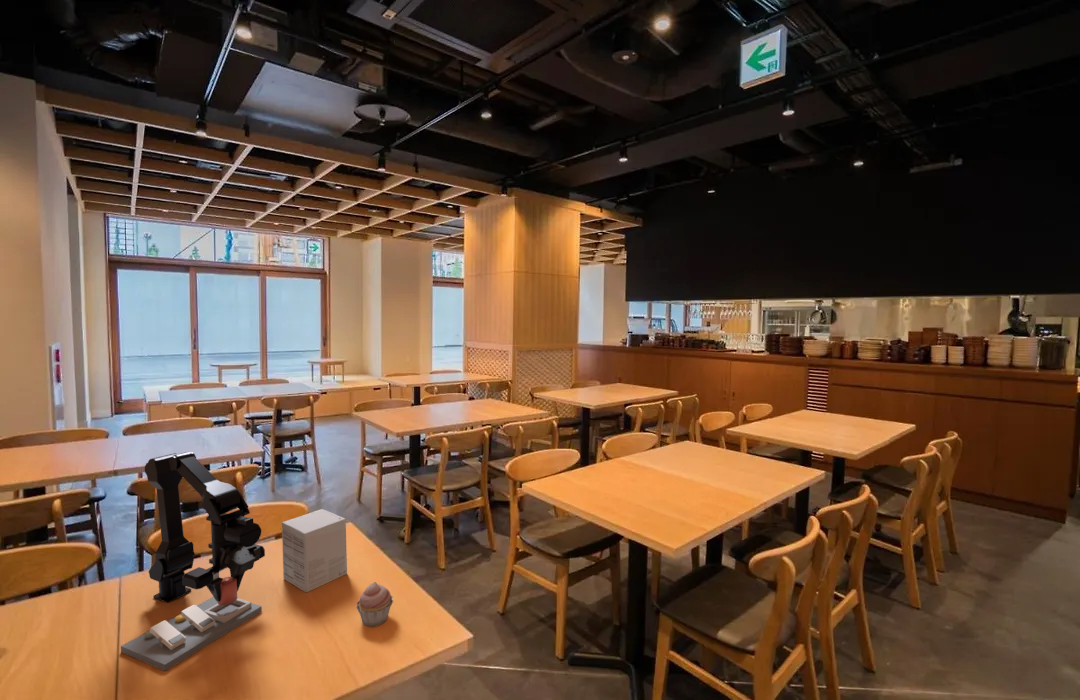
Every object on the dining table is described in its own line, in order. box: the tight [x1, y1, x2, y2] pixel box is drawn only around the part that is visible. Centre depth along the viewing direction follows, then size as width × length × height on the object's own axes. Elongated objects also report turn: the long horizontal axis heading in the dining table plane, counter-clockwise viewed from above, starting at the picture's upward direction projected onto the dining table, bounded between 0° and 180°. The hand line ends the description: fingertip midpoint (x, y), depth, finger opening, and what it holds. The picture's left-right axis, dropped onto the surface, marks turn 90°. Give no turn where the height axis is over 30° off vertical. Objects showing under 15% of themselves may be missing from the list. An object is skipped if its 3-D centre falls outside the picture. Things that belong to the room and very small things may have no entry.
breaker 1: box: [149, 619, 186, 650], centre depth 118 cm, size 8×4×1 cm, turn 68°
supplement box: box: [281, 508, 348, 593], centre depth 150 cm, size 13×13×18 cm
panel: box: [120, 596, 263, 672], centre depth 125 cm, size 16×24×3 cm, turn 158°
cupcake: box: [355, 581, 394, 628], centre depth 130 cm, size 9×9×10 cm
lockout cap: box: [217, 576, 238, 605], centre depth 130 cm, size 4×4×6 cm
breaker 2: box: [180, 604, 215, 632], centre depth 124 cm, size 8×4×1 cm, turn 68°
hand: (227, 596), depth 130 cm, fingers closed on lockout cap, 4 cm apart
